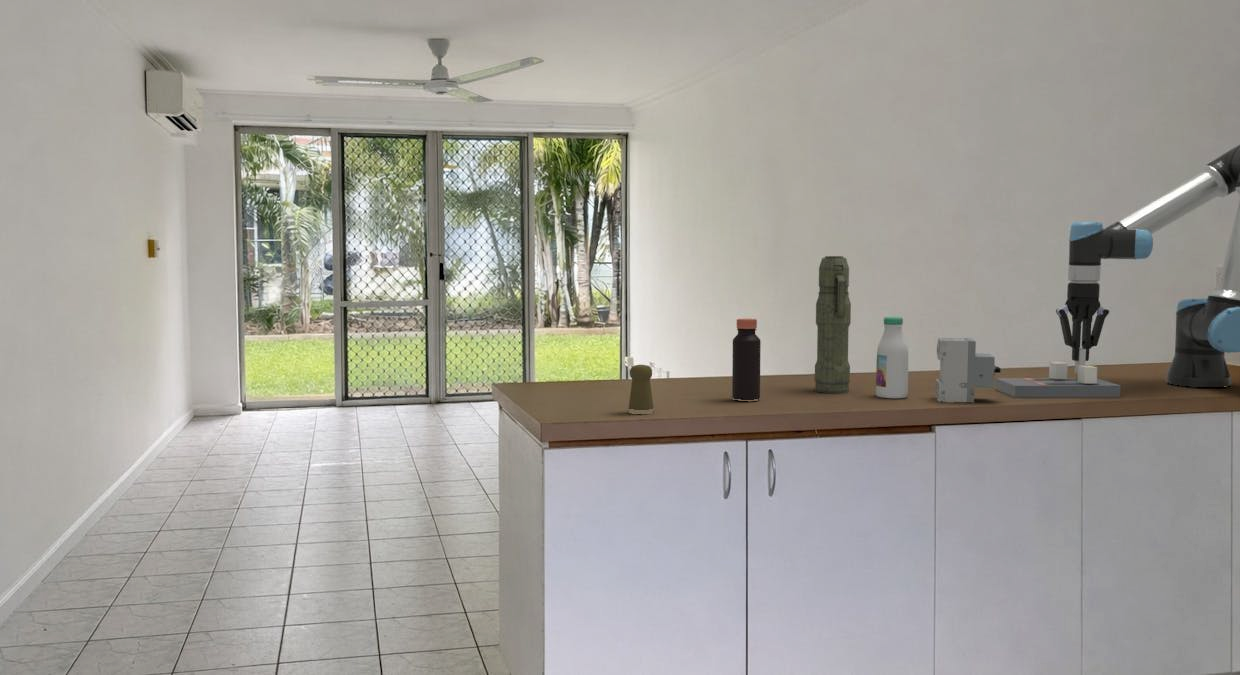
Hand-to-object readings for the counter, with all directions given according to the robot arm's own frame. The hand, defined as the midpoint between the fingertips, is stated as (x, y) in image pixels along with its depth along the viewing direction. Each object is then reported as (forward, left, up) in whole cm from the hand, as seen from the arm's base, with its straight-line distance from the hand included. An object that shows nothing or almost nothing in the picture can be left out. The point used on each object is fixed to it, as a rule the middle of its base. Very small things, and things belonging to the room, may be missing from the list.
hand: (1079, 373), depth 265 cm
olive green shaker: (+114, +32, -5) cm, 118 cm away
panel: (+8, +4, -5) cm, 10 cm away
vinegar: (+88, +14, -5) cm, 89 cm away
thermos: (+64, -1, -5) cm, 64 cm away
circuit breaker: (+34, +15, -5) cm, 37 cm away
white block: (+2, +8, -1) cm, 8 cm away
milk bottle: (+51, +9, -5) cm, 52 cm away
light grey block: (+6, 0, -1) cm, 6 cm away
